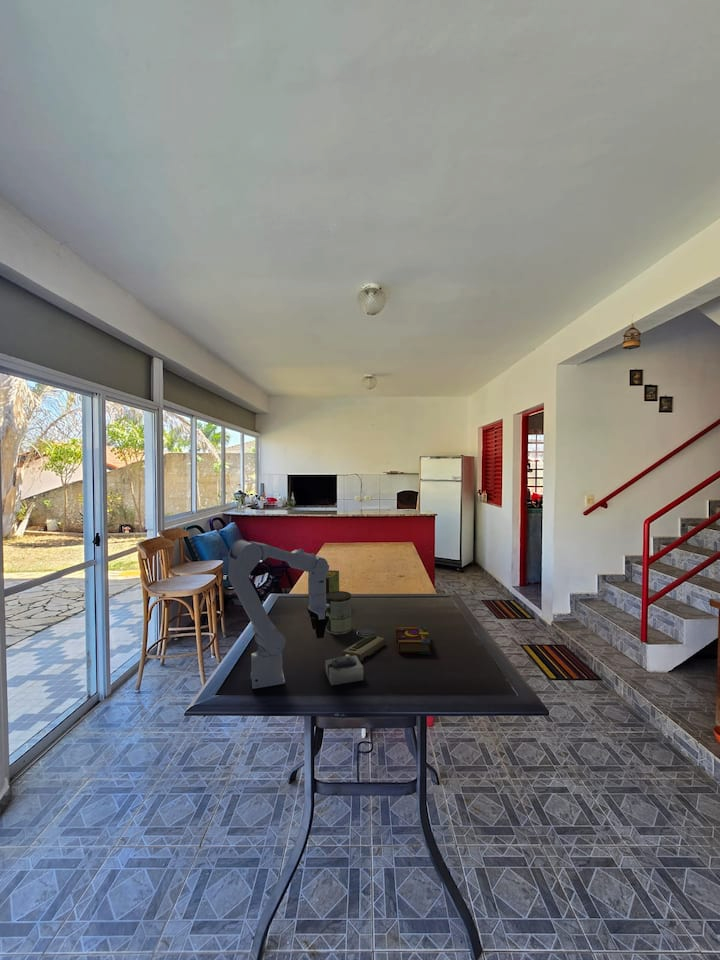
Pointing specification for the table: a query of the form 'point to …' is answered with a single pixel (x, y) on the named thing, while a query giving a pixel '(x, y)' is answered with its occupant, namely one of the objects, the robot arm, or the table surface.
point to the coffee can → (338, 612)
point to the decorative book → (412, 640)
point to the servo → (343, 661)
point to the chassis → (344, 672)
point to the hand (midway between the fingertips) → (318, 633)
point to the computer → (365, 647)
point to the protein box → (330, 581)
